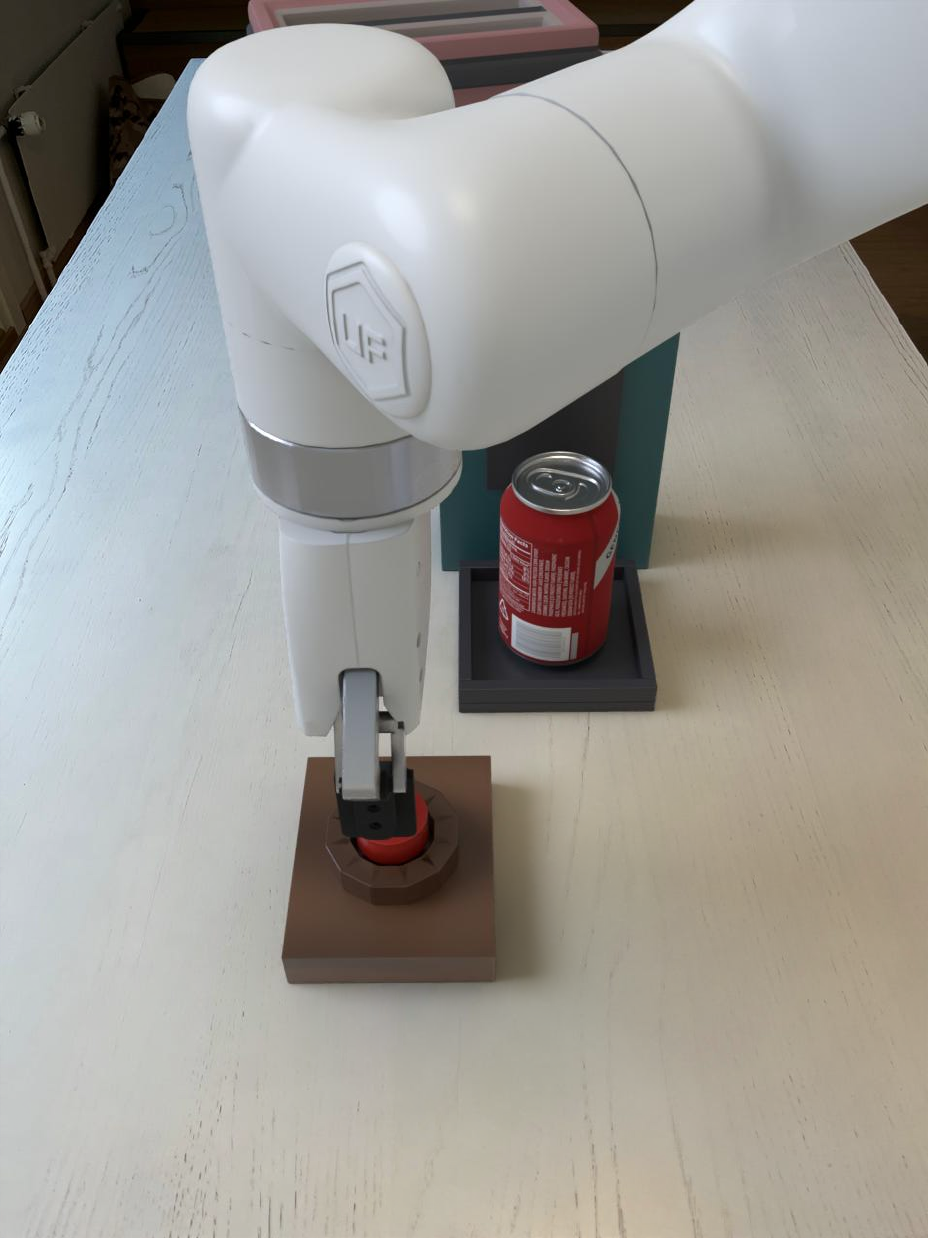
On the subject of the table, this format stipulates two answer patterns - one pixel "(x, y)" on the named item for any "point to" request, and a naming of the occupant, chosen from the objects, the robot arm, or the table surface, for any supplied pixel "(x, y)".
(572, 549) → the soda can
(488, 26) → the toaster
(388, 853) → the button
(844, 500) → the table surface
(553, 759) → the table surface
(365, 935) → the switch
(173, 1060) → the table surface
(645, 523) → the drinks machine
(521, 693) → the tray
